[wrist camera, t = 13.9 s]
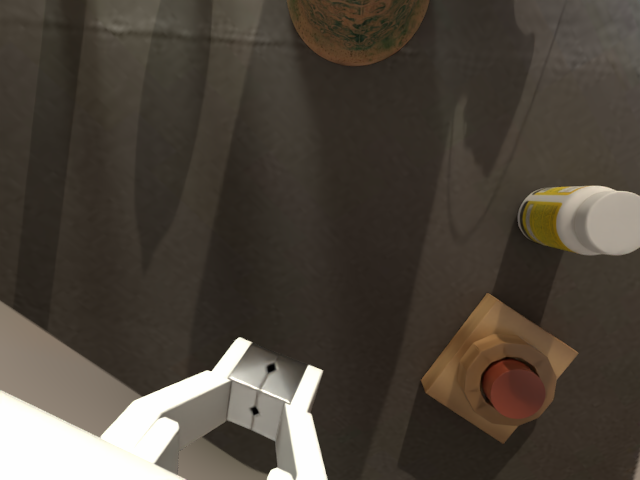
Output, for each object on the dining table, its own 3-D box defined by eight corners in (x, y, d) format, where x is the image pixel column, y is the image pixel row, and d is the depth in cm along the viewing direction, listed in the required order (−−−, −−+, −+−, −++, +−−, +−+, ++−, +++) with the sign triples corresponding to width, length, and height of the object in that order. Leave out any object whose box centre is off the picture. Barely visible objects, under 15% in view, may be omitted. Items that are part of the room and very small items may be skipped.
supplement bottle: (543, 255, 31) (616, 278, 23) (503, 217, 31) (561, 226, 22) (587, 213, 30) (678, 221, 22) (546, 175, 30) (622, 168, 22)
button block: (493, 428, 33) (512, 459, 29) (420, 380, 33) (430, 405, 29) (563, 342, 32) (594, 363, 28) (487, 292, 32) (507, 306, 28)
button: (513, 415, 29) (523, 429, 27) (471, 388, 29) (479, 400, 27) (544, 376, 29) (557, 388, 27) (502, 349, 29) (512, 359, 27)
